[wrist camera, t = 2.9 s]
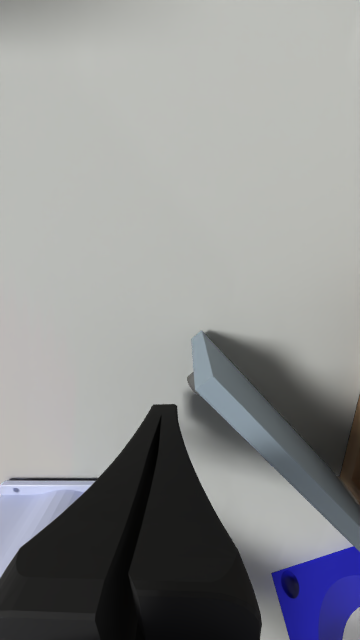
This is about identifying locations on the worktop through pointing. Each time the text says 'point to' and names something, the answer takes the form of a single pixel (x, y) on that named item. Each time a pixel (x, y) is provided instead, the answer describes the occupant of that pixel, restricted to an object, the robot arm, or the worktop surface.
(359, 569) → the cable clip
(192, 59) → the worktop surface
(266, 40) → the worktop surface
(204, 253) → the worktop surface
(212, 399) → the door
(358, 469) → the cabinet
